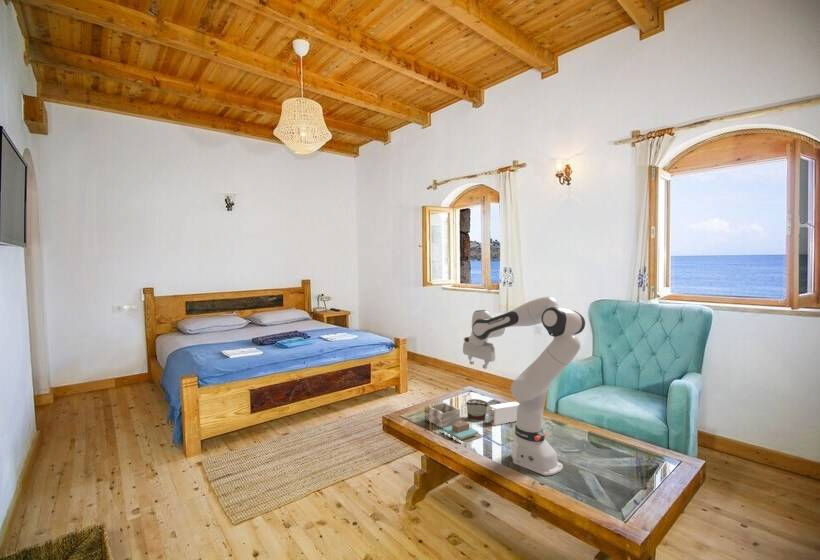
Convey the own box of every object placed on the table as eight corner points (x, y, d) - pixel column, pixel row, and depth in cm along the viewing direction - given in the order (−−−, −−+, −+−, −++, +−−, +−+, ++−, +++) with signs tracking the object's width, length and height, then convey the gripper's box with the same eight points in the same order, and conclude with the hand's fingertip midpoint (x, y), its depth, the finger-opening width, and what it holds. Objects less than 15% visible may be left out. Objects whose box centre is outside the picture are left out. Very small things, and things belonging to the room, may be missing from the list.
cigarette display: (514, 417, 229) (515, 401, 228) (521, 421, 224) (522, 404, 223) (486, 422, 220) (487, 405, 219) (492, 426, 215) (493, 409, 214)
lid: (478, 435, 201) (478, 425, 201) (460, 441, 193) (460, 431, 193) (460, 426, 211) (461, 417, 211) (442, 432, 203) (443, 422, 203)
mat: (481, 437, 200) (481, 436, 200) (461, 444, 192) (461, 443, 192) (459, 426, 213) (459, 425, 213) (439, 432, 204) (439, 431, 204)
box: (459, 424, 216) (459, 409, 215) (442, 429, 208) (443, 414, 208) (444, 416, 225) (445, 402, 225) (428, 421, 218) (428, 406, 218)
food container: (486, 416, 227) (487, 399, 227) (487, 421, 221) (488, 403, 221) (464, 415, 229) (465, 398, 228) (465, 419, 222) (465, 401, 222)
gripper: (498, 343, 203) (497, 370, 204) (469, 336, 219) (468, 361, 220) (490, 344, 199) (489, 371, 200) (461, 337, 216) (460, 362, 216)
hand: (478, 366), depth 210 cm, fingers open, 8 cm apart
